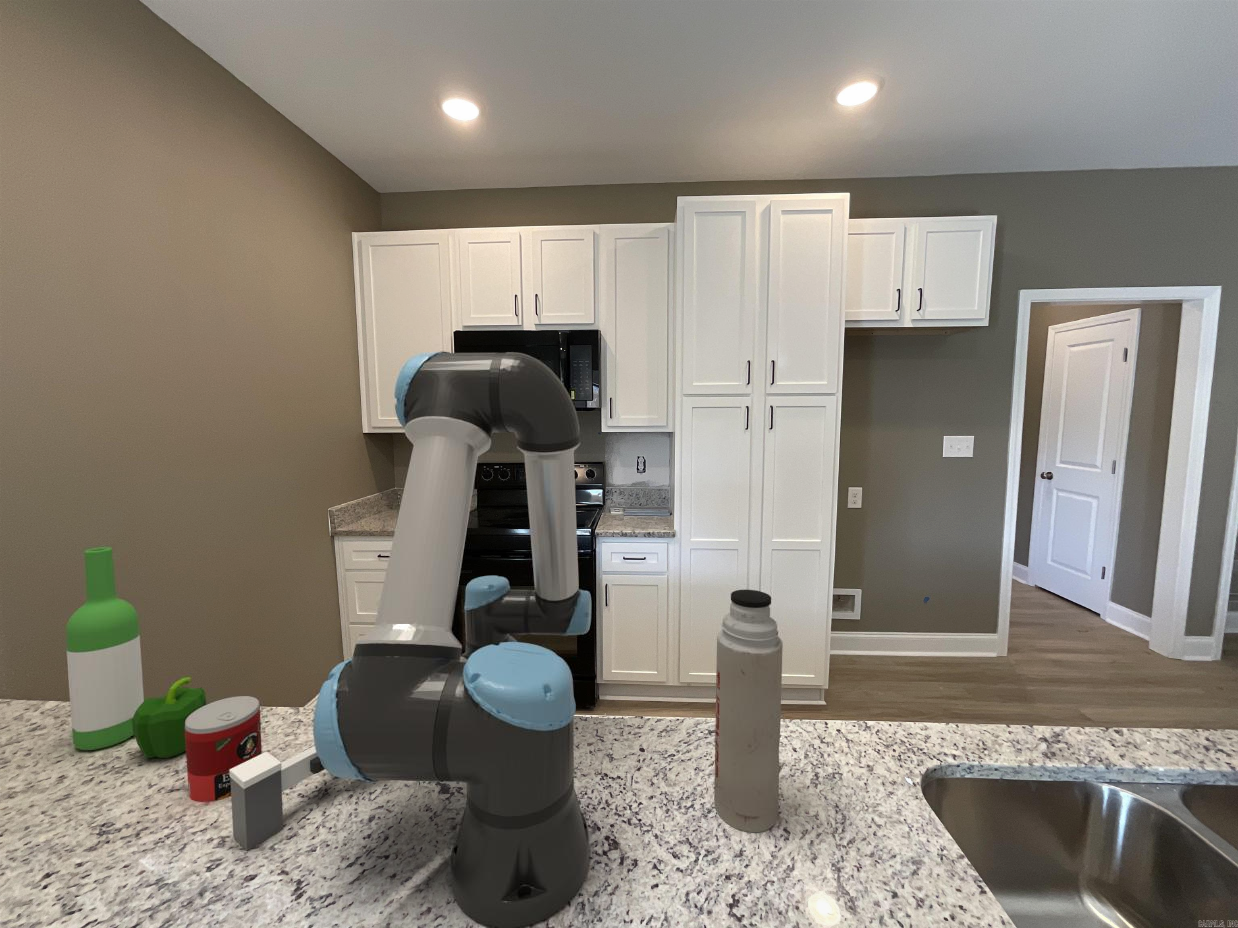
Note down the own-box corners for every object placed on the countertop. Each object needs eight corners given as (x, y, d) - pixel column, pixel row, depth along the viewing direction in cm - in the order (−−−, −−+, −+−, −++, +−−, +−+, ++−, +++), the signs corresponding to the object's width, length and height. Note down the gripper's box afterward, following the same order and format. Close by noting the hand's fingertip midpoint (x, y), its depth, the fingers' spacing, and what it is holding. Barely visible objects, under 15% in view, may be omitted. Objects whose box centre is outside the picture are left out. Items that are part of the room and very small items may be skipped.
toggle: (284, 828, 56) (281, 762, 56) (246, 851, 53) (243, 781, 53) (269, 815, 58) (266, 751, 58) (232, 836, 55) (229, 769, 55)
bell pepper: (144, 775, 67) (140, 706, 66) (126, 754, 71) (122, 689, 71) (219, 742, 74) (215, 680, 73) (198, 725, 78) (195, 666, 78)
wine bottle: (136, 717, 81) (125, 541, 79) (152, 732, 77) (141, 547, 75) (66, 742, 74) (53, 550, 72) (81, 760, 70) (67, 558, 68)
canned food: (222, 817, 60) (218, 732, 59) (171, 806, 61) (167, 724, 61) (277, 774, 67) (274, 698, 67) (231, 766, 69) (227, 692, 68)
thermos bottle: (706, 818, 60) (710, 598, 58) (722, 777, 67) (726, 580, 65) (773, 842, 56) (779, 609, 55) (782, 796, 64) (787, 589, 62)
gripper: (470, 726, 74) (305, 833, 54) (417, 700, 81) (253, 788, 61) (469, 678, 74) (302, 770, 54) (416, 657, 80) (250, 731, 60)
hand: (276, 779), depth 57 cm, fingers closed
